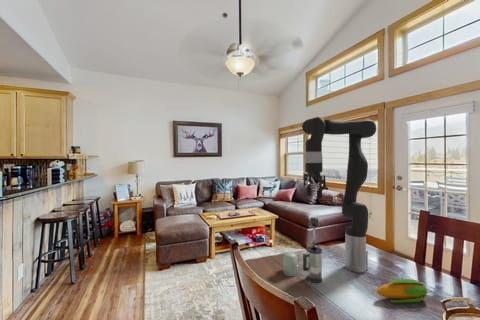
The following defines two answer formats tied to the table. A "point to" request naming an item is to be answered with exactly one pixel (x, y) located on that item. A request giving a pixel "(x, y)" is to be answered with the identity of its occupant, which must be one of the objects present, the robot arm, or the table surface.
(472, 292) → the table surface
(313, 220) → the plunger
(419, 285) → the corn
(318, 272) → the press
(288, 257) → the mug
